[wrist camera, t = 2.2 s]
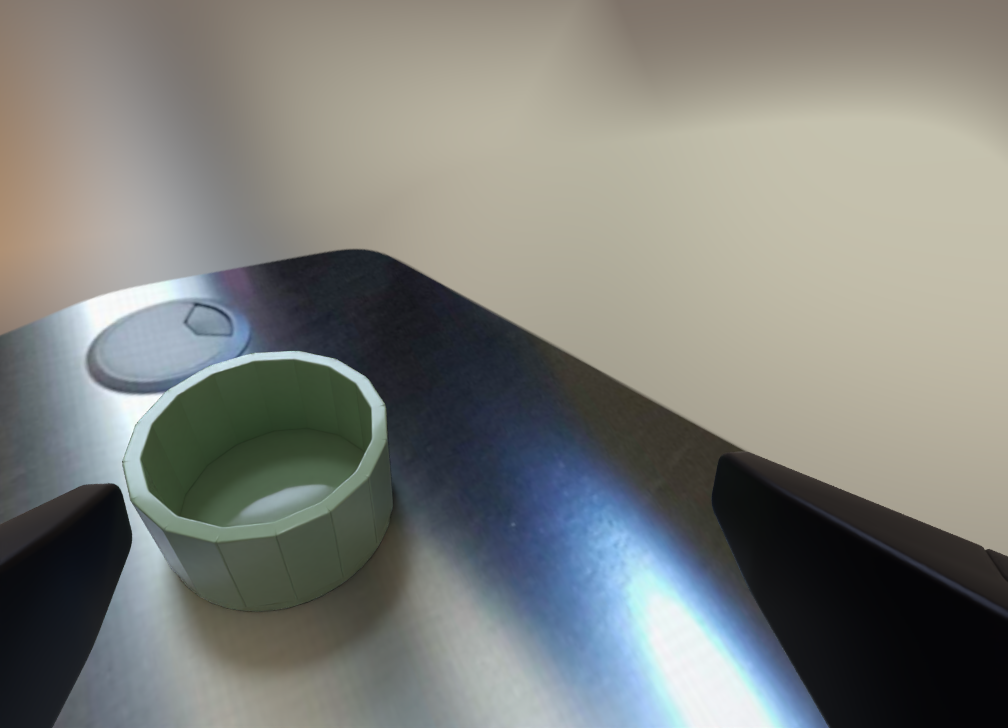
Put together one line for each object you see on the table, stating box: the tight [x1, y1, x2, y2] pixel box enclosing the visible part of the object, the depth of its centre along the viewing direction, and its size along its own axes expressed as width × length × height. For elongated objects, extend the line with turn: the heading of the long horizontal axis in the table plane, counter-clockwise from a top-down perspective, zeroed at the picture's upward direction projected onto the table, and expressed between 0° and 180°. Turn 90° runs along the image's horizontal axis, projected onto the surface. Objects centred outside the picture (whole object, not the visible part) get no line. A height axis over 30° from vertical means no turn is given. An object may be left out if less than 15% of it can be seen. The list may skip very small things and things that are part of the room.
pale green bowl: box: [122, 351, 393, 611], centre depth 24 cm, size 9×9×5 cm
